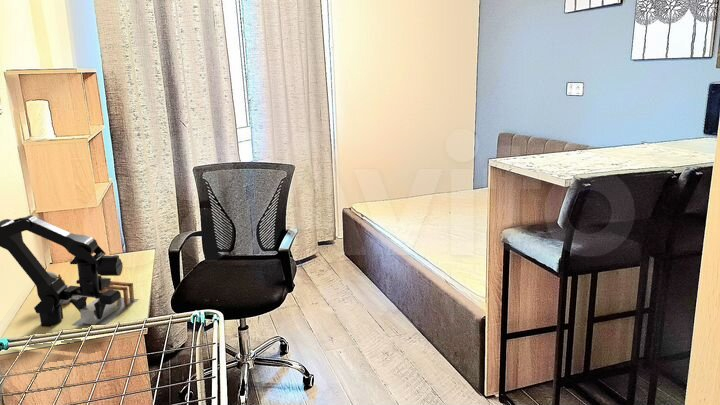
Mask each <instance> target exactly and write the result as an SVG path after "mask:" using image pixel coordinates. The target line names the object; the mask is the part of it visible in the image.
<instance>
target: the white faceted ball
mask: <svg viewBox="0 0 720 405" xmlns="http://www.w3.org/2000/svg"><path fill="white" fill-rule="evenodd" d="M47 273H48V274H49V275H50V276H51V277H53V278H55V279H58V278H59V277H60V278H61V279H62V278H63V277H62V276H61V274H60V273H58V274H56V273H55V272H54V271H47ZM62 280H63V282H64V283H65V284H66V282H65V279H62ZM69 286H70V285H67V287H69ZM69 300H71V298H70V299H69ZM69 300H63V302H62V303H61V306H64V305H67V304H69V303H70V302H69Z"/></svg>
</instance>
